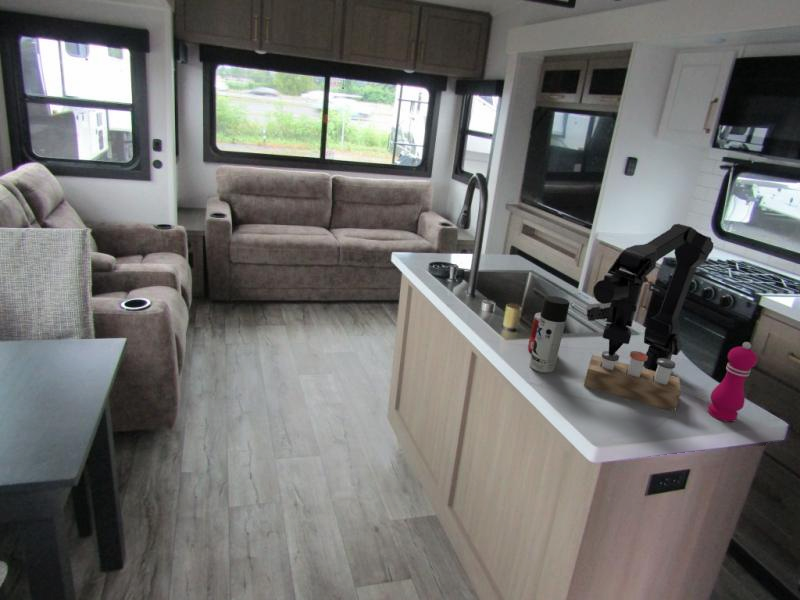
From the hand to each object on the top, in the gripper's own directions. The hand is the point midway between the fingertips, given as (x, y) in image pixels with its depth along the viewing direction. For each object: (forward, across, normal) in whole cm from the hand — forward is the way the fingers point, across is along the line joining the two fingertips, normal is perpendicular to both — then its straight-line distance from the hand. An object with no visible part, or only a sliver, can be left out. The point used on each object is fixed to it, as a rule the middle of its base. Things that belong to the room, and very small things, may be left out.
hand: (610, 354), depth 144 cm
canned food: (+9, -9, -18) cm, 22 cm away
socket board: (+8, 0, +6) cm, 11 cm away
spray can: (+8, +1, -16) cm, 18 cm away
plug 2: (+5, 0, +13) cm, 14 cm away
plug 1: (+7, 0, 0) cm, 7 cm away
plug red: (+5, 0, +7) cm, 8 cm away
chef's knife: (+9, -10, +21) cm, 24 cm away
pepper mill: (+8, -1, +28) cm, 30 cm away
